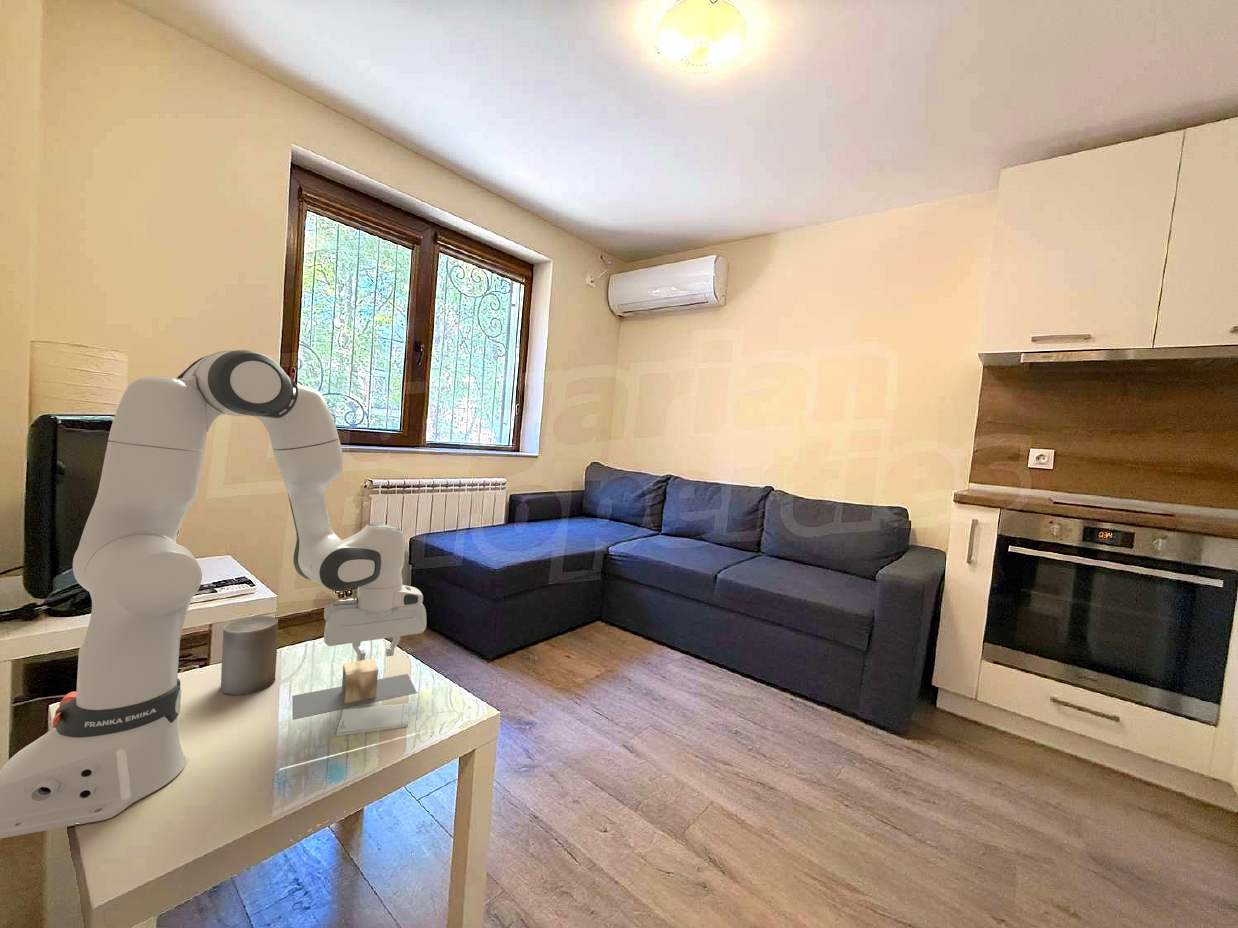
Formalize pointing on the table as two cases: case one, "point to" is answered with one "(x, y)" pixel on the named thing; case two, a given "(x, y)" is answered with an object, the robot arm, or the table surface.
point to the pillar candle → (249, 654)
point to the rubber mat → (335, 701)
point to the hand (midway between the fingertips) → (375, 657)
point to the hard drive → (373, 719)
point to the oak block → (359, 680)
